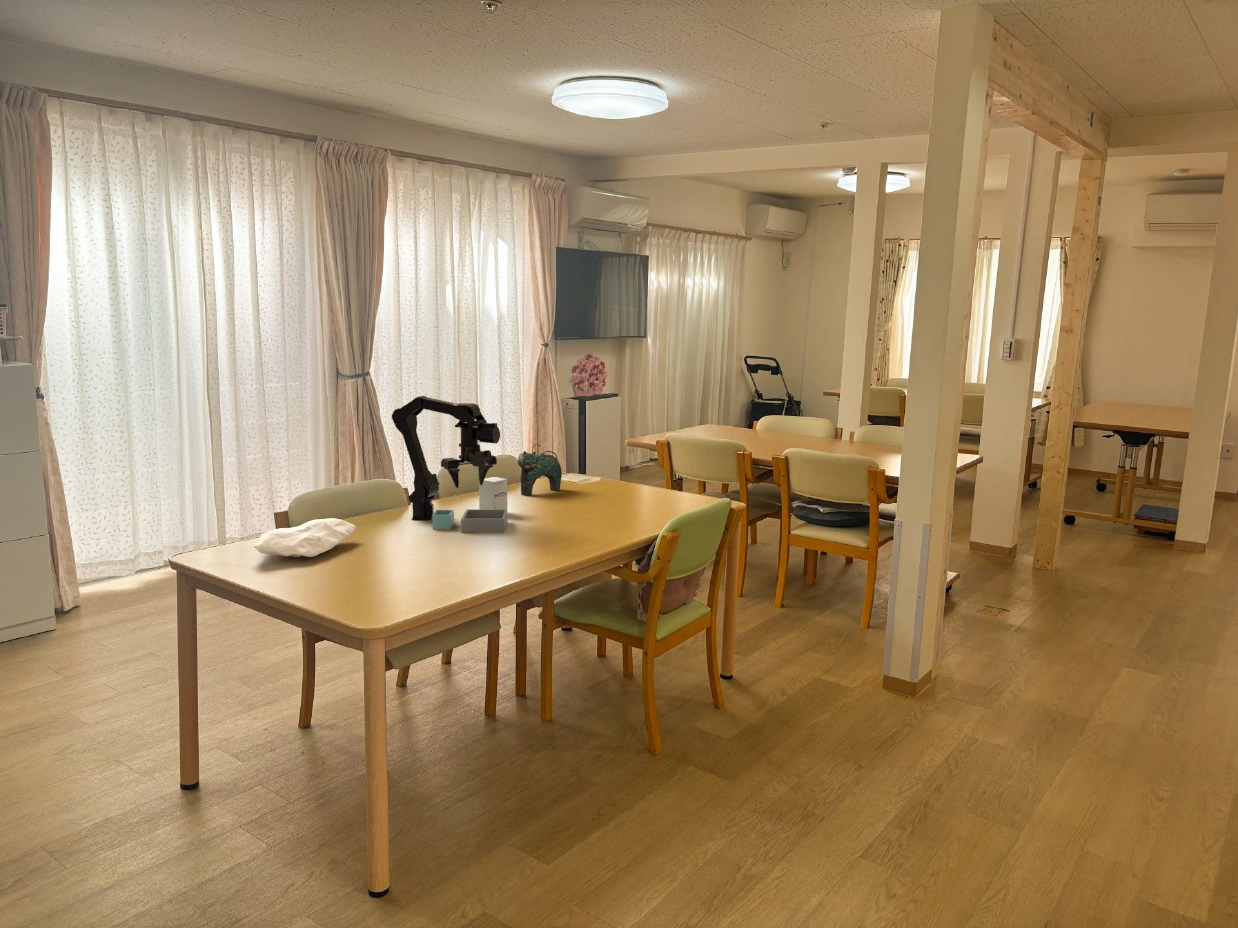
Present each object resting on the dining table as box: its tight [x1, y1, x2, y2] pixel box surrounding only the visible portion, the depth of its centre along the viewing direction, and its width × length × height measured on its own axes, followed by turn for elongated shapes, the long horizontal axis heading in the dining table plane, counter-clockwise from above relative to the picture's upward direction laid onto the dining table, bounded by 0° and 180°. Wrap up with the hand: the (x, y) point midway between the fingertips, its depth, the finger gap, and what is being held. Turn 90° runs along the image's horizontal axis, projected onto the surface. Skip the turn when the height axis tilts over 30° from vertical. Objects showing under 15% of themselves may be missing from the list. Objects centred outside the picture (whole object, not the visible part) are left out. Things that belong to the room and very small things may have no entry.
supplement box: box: [478, 476, 508, 510], centre depth 315 cm, size 7×7×13 cm
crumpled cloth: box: [253, 517, 356, 558], centre depth 264 cm, size 24×35×9 cm
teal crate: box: [431, 509, 455, 530], centre depth 296 cm, size 6×8×5 cm
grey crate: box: [460, 508, 509, 533], centre depth 296 cm, size 14×14×4 cm
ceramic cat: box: [517, 443, 563, 497], centre depth 350 cm, size 20×6×20 cm, turn 132°
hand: (469, 486), depth 300 cm, fingers open, 9 cm apart
